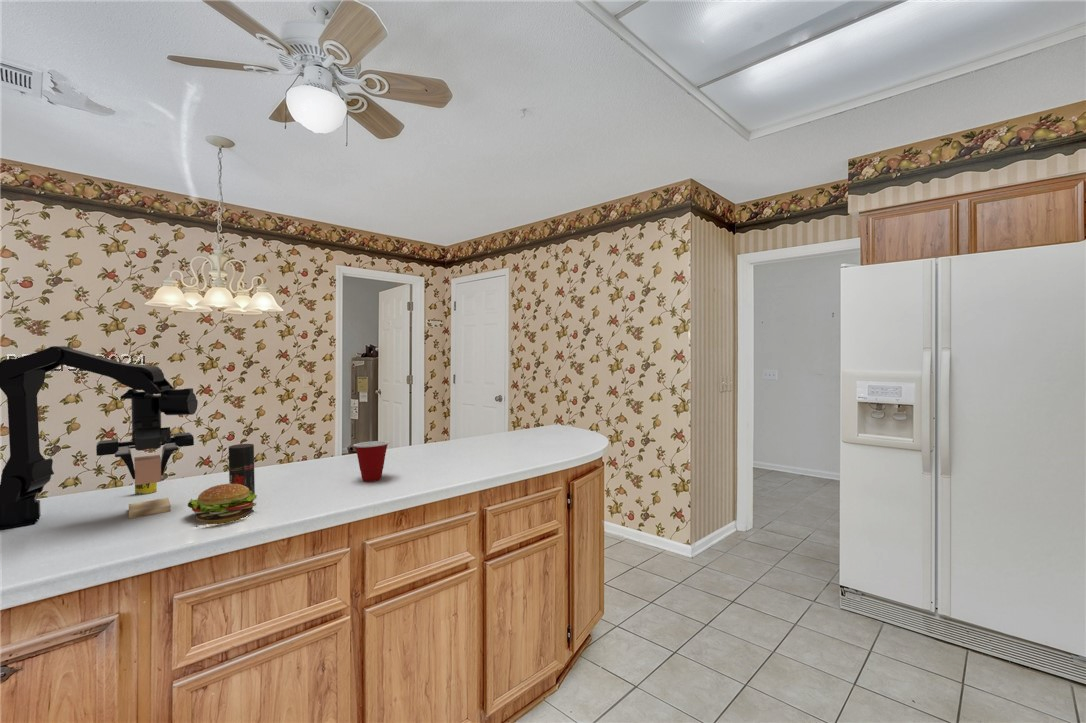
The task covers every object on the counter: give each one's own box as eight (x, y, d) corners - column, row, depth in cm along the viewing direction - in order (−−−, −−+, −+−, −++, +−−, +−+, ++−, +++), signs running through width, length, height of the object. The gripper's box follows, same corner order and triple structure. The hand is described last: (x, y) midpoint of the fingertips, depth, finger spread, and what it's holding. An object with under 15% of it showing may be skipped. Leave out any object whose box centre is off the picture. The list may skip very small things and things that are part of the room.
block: (135, 485, 118) (134, 461, 117) (134, 480, 121) (134, 457, 121) (161, 481, 121) (160, 458, 121) (160, 477, 125) (159, 454, 124)
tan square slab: (129, 518, 116) (128, 512, 116) (128, 509, 122) (128, 504, 122) (170, 510, 121) (170, 505, 121) (168, 503, 127) (168, 497, 127)
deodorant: (259, 496, 135) (258, 444, 135) (241, 503, 130) (240, 448, 129) (243, 495, 137) (242, 443, 136) (224, 501, 131) (223, 447, 131)
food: (243, 503, 130) (243, 474, 130) (264, 515, 121) (263, 484, 121) (182, 517, 119) (181, 486, 119) (200, 531, 110) (199, 497, 110)
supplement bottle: (131, 498, 133) (130, 468, 133) (140, 493, 138) (139, 464, 138) (151, 497, 135) (151, 467, 134) (160, 492, 139) (159, 463, 139)
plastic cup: (383, 472, 161) (383, 437, 161) (393, 480, 152) (393, 443, 152) (349, 477, 155) (349, 441, 154) (358, 486, 146) (357, 447, 145)
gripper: (94, 423, 108) (96, 491, 109) (195, 416, 121) (196, 477, 121) (96, 418, 117) (98, 481, 117) (190, 411, 129) (191, 468, 130)
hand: (147, 477), depth 121 cm, fingers closed on block, 5 cm apart
